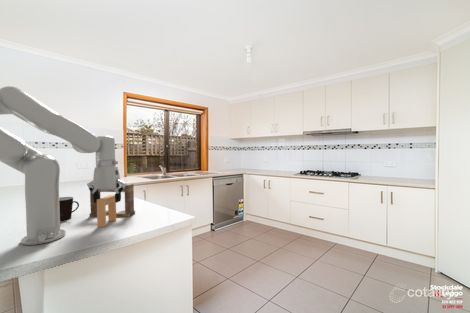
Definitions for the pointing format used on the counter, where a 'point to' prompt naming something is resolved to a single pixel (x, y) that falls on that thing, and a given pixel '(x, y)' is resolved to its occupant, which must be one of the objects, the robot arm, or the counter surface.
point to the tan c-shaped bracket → (102, 210)
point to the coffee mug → (66, 207)
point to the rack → (128, 202)
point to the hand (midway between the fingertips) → (107, 201)
